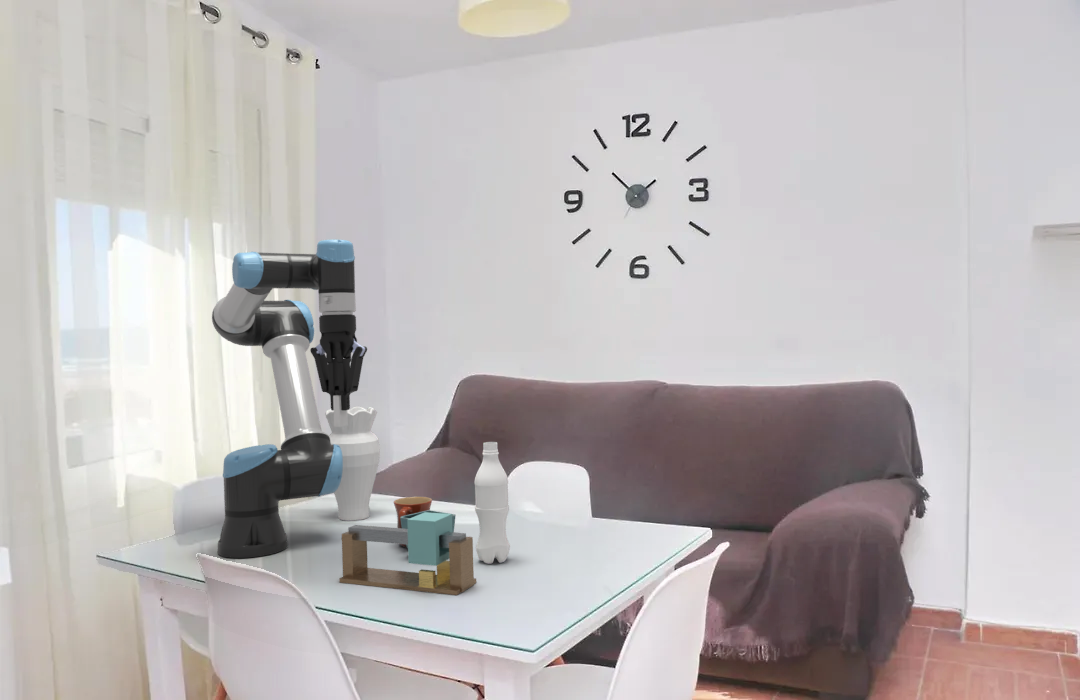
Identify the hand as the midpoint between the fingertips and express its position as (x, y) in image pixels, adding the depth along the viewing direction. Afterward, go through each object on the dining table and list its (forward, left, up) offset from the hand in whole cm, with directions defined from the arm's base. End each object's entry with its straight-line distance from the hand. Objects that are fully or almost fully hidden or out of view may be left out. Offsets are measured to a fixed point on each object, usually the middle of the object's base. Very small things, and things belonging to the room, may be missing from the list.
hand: (340, 425), depth 174 cm
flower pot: (+14, +11, -30) cm, 35 cm away
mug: (+6, +17, -30) cm, 35 cm away
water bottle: (+29, +12, -30) cm, 43 cm away
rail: (+20, -7, -29) cm, 36 cm away
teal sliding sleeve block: (+25, -7, -21) cm, 33 cm away
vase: (-25, +39, -30) cm, 55 cm away
